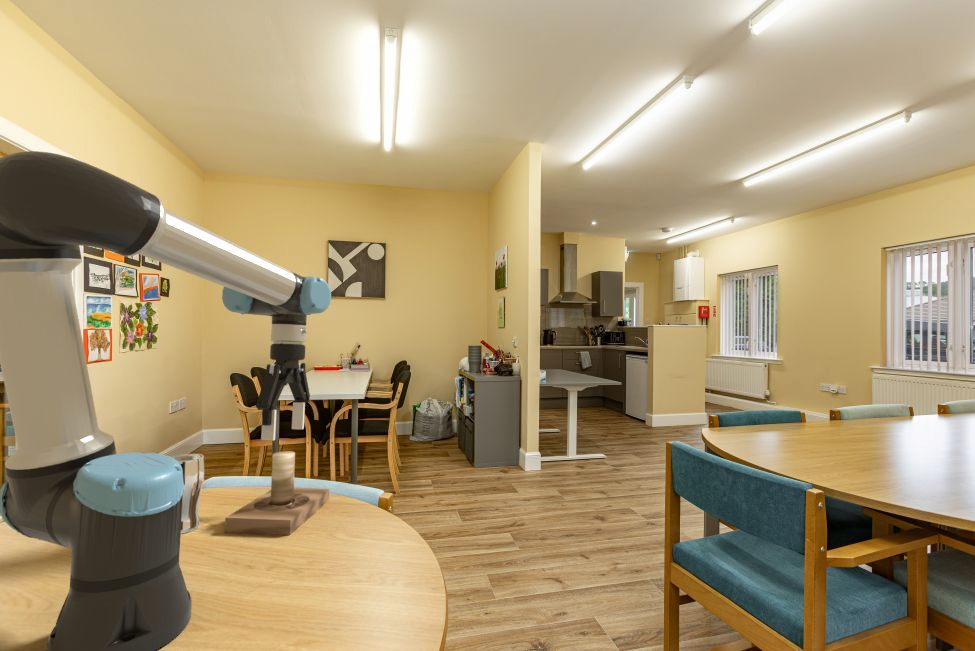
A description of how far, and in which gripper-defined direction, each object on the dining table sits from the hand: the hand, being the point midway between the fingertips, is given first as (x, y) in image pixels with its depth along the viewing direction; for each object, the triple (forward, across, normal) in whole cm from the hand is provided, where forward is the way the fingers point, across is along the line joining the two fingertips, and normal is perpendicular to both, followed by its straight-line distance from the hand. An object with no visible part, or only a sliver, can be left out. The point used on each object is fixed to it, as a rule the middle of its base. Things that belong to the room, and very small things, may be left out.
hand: (283, 434), depth 102 cm
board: (+19, 0, 0) cm, 19 cm away
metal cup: (+19, -8, +17) cm, 27 cm away
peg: (+18, 0, 0) cm, 19 cm away
